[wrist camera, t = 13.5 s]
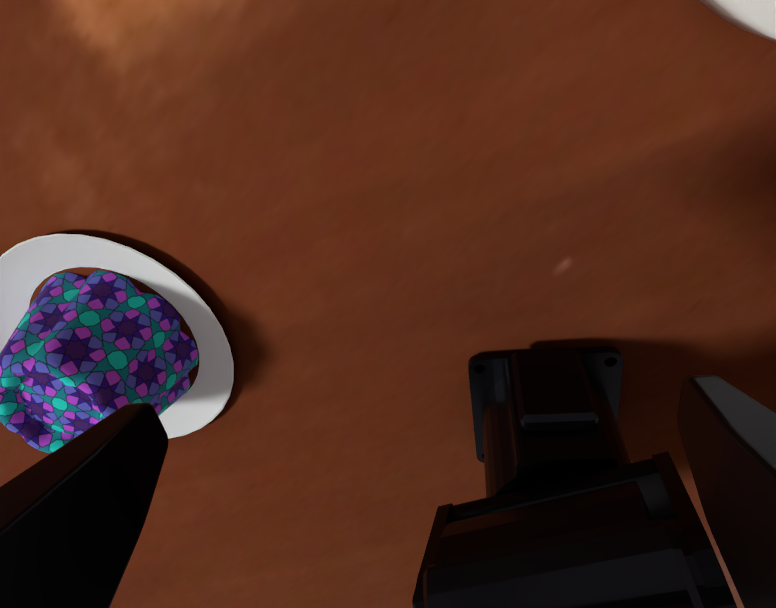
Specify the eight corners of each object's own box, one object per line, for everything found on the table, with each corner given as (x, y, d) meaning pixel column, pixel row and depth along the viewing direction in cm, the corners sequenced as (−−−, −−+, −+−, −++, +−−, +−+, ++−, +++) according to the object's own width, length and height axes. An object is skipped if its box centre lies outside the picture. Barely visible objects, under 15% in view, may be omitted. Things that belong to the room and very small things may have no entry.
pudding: (-2, 180, 23) (-112, 234, 18) (269, 294, 24) (229, 369, 20) (-10, 377, 29) (-93, 452, 25) (207, 458, 31) (166, 541, 26)
